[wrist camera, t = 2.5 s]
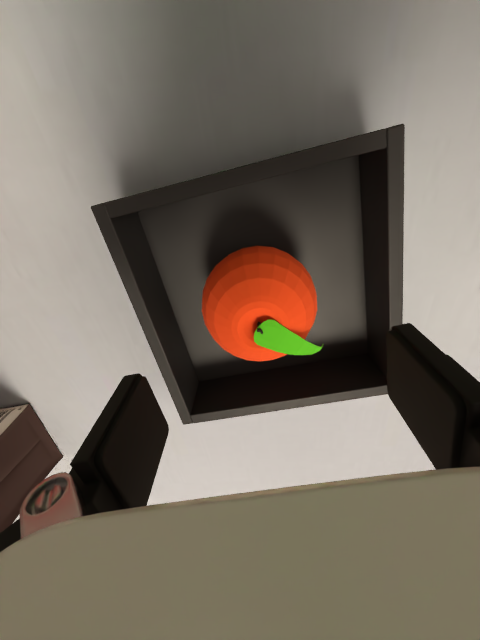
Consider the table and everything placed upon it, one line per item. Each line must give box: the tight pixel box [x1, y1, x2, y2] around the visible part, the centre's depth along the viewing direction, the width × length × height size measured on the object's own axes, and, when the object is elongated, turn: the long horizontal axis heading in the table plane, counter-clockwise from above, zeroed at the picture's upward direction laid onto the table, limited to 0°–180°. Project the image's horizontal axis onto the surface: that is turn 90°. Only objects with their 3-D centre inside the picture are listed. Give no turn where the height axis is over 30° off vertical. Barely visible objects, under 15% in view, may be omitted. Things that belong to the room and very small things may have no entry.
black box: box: [91, 124, 404, 424], centre depth 19 cm, size 16×16×5 cm
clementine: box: [202, 246, 324, 361], centre depth 18 cm, size 8×7×7 cm
